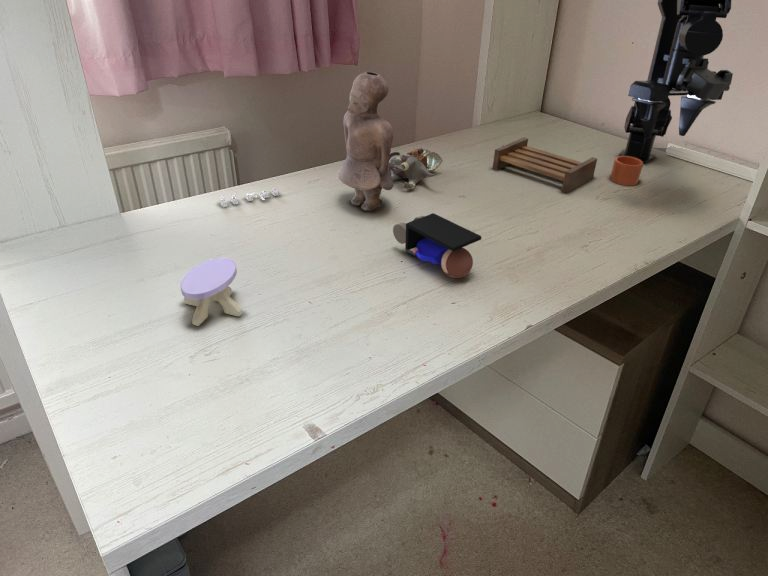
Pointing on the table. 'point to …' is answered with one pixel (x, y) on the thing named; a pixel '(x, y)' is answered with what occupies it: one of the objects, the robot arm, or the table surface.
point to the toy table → (210, 287)
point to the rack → (545, 163)
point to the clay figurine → (367, 142)
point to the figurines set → (248, 197)
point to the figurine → (413, 166)
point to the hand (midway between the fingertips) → (664, 136)
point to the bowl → (626, 170)
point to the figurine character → (438, 243)
